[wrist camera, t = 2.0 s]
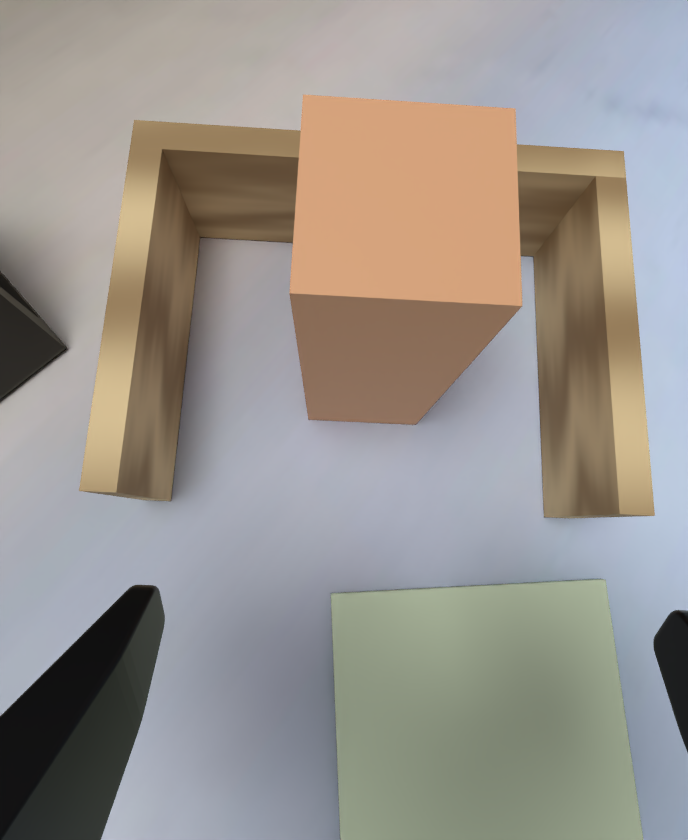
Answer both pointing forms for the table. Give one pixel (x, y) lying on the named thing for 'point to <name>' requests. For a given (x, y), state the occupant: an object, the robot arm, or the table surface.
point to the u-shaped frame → (274, 221)
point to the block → (400, 251)
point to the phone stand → (22, 339)
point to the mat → (481, 714)
